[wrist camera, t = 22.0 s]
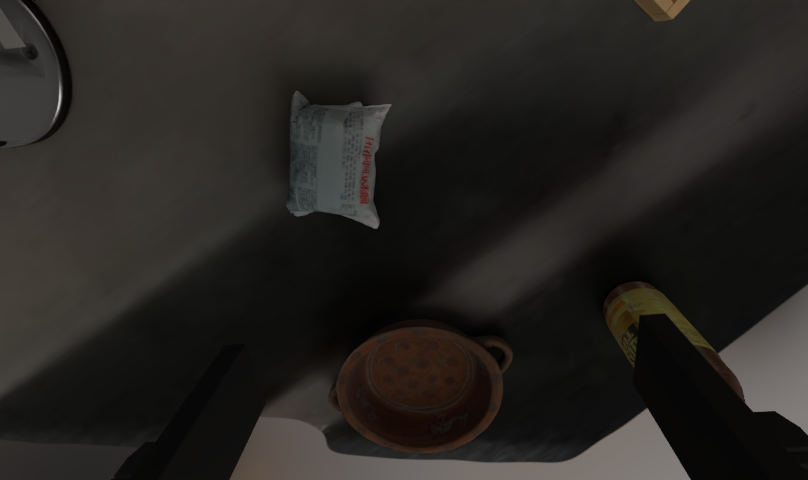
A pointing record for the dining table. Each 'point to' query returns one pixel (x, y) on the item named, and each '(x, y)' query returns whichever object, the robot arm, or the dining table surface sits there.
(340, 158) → the packaged food
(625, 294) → the sauce bottle
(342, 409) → the dish
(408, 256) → the dining table surface
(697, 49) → the dining table surface
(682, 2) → the tray
